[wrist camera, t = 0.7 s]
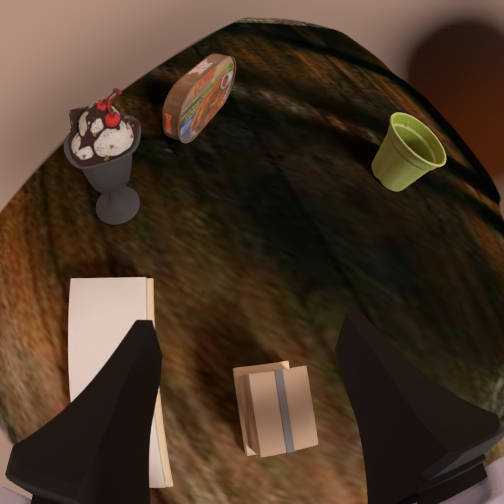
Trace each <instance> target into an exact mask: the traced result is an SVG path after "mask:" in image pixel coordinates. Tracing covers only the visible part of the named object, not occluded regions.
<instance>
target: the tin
mask: <svg viewBox="0 0 504 504" xmlns="http://www.w3.org/2000/svg"><path fill="white" fill-rule="evenodd" d="M235 73H236V61H235V59H234V58H233V57H232V56H225V55H221V54H211V55H209V56H208V57H206V58H205V59H204V60H202V61H201V62H200V63H198V64H197V65H196V66H195V67H193V68H192V69H191V70H190V71H188V72H187V73H186V74H185V75H183V76H182V77H181V78H180V79H179V80H178V81H177V82H176V83H175V84H174V85H173V87H172V88H171V90H170V91H169V93H168V95H167V98H166V100H165V103H164V107H163V129H164V133H165V134H166V135H167V136H168V137H170V138H173V139H176V140H179V141H181V142H182V143H189V142H191V141H192V140H193V139H195V137H196V136H197V135H198V134H199V133H200V131H201V130H202V129H203V128H204V127H205V126H206V124H207V123H208V122H209V121H210V120H211V119H212V117H213V116H214V115H215V114H216V113H217V112H218V111H219V110H220V108H221V107H222V106H223V105H224V103H225V101H226V99H227V98H228V96H229V94H230V91H231V88H232V85H233V82H234V78H235Z"/></svg>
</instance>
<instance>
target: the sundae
mask: <svg viewBox="0 0 504 504" xmlns="http://www.w3.org/2000/svg"><path fill="white" fill-rule="evenodd" d="M115 92H116V96H114V97H113V98H112V100H111V101H109V100H108V99H109V98H110V97H111V95H112V94H114V93H115ZM112 94H110V96H109V97H108V98H107V99H103V100H100V101H99V102H98V103H95V104H94V105H93V106H91V107H89V106H87V107H82V108H77V109H73V110H70V112H69V116H70V122H71V127H72V128H71V132H70V133H69V134H68V135H67V137H66V139H65V141H64V153H65V155H66V157H67V159H68V160H69V161H70V163H71V164H72V165H74V166H75V167H77V168H79V169H82V171H83V172H84V174H85V176H86V178H87V179H88V181H89V182H90V184H91V185H92V186H93V188H94V189H95V190H96V191H98V192H100V193H102V194H101V195H100V197H99V198H98V200H97V203H96V213H97V216H98V217H99V218H100V219H101V220H102V221H103V222H105V223H107V224H111V225H119V224H122V223H125V222H127V221H129V220H130V219H132V218H133V217H134V216H135V215H136V213H137V212H138V210H139V206H140V199H139V196H138V194H137V193H136V191H134V190H133V189H132V188H130V187H127V186H125V185H126V184H127V183H128V181H129V179H130V173H131V166H132V153H133V152H134V151H135V150H136V148H137V146H138V144H139V142H140V137H141V127H140V125H141V123H140V122H139V121H138V120H137V119H135V118H134V117H132V116H130V115H126V114H123V113H119V112H118V111H117V110H116V109H115V108H114V107H113V106H111V103H112V101H113V100H114V99H115V98H116V97H117V96H118V95H120V94H122V91H121V90H119V89H117V88H115V89H113V93H112Z"/></svg>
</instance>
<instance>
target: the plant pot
mask: <svg viewBox="0 0 504 504" xmlns="http://www.w3.org/2000/svg"><path fill="white" fill-rule="evenodd" d="M445 162H446V154H445V151H444V149H443V146H442V145H441V143H440V141H439V140H438V139H437V137H436V136H435V135H434V134H433V133H432V131H431V130H430V129H429V128H428V127H426V126H425V125H424V124H423V123H421V122H420V121H419V120H417V119H416V118H414V117H412V116H410V115H408V114H405V113H399V112H398V113H394V114H393V115H392V116H391V118H390V126H389V128H388V133H387V135H386V137H385V139H384V141H383V143H382V145H381V147H380V149H379V151H378V152H377V154H376V156H375V158H374V160H373V162H372V171H373V174H374V176H375V177H376V178H378V179H379V180H380V181H381V183H382V185H383V186H385V187H386V188H388V189H390V190H392V191H401V190H403V189H404V188H406V187H407V186H408V185H410V184H411V183H412V182H414V181H415V180H417V179H418V178H419V177H421V176H422V175H424V174H425V173H426V172H428V171H429V170H433V169H435V168H436V167H441V166H443V165H444V164H445Z"/></svg>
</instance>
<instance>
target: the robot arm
mask: <svg viewBox="0 0 504 504" xmlns="http://www.w3.org/2000/svg"><path fill="white" fill-rule="evenodd" d="M335 350H336V355H337V360H338V365H339V369H340V373H341V376H342V379H343V382H344V385H345V388H346V391H347V394H348V396H349V399H350V402H351V405H352V408H353V411H354V414H355V417H356V420H357V424H358V428H359V433H360V438H361V443H362V449H363V456H364V462H365V470H366V480H367V495H368V504H504V455H503V456H502V457H500V458H498V459H497V460H495V461H494V462H492V463H491V464H489V465H487V466H486V467H484V466H483V462H484V461H486V458H485V455H484V453H485V452H486V451H487V450H489V449H490V448H491V447H492V446H494V445H495V444H496V443H497V442H498V441H499V440H501V439H502V438H503V436H504V427H503V425H502V423H501V421H500V419H499V417H498V415H497V414H494V413H492V412H489V411H487V410H484V409H482V408H480V407H477V406H475V405H473V404H471V403H469V402H467V401H465V400H463V399H462V398H460V397H458V396H456V395H455V394H453V393H451V392H450V391H448V390H447V389H445V388H443V387H442V386H440V385H439V384H438V383H436V382H435V381H433V380H432V379H431V378H429V377H428V376H427V375H425V374H424V373H423V372H422V371H420V370H419V369H418V368H417V367H416V366H414V365H413V364H412V363H411V362H410V361H409V360H408V359H407V358H405V357H404V356H403V355H402V354H401V353H400V352H399V351H398V350H397V349H396V348H395V347H394V346H393V345H392V344H391V343H390V342H389V341H388V340H387V339H386V338H385V337H384V336H383V335H382V334H381V333H380V332H379V331H378V330H377V329H376V328H375V327H374V326H373V325H372V324H371V323H370V322H369V321H368V320H367V319H366V318H365V317H364V316H363V315H362V314H361V313H360V312H358V313H347V314H346V315H345V318H344V322H343V325H342V329H341V332H340V335H339V339H338V342H337V345H336V348H335ZM161 364H162V354H161V350H160V347H159V343H158V339H157V336H156V332H155V328H154V325H153V321H152V320H136V321H135V322H134V324H133V325H132V327H131V328H130V329H129V331H128V332H127V334H126V335H125V337H124V338H123V340H122V341H121V343H120V344H119V345H118V347H117V348H116V350H115V351H114V352H113V354H112V355H111V356H110V358H109V359H108V361H107V362H106V363H105V364H104V366H103V367H102V368H101V369H100V371H99V372H98V373H97V374H96V376H95V377H94V378H93V379H92V381H91V382H90V383H89V384H88V385H87V386H86V387H85V389H84V390H83V391H82V392H81V393H80V394H79V395H78V396H77V397H76V398H75V399H74V400H73V401H72V402H71V403H70V404H69V405H68V406H67V407H66V408H65V409H64V410H63V411H61V412H60V413H59V414H58V415H57V416H56V417H54V418H53V419H52V420H51V421H49V422H48V423H47V424H46V425H44V426H43V427H42V428H41V429H39V430H38V431H36V432H35V433H34V434H32V435H30V436H29V437H27V438H26V439H24V440H22V441H21V442H19V443H18V444H16V445H14V446H13V448H12V452H11V455H10V458H9V462H8V466H7V470H6V474H5V475H6V477H7V479H9V480H10V481H12V482H13V483H14V484H16V485H18V486H20V487H21V488H23V489H24V490H26V491H28V492H30V493H31V494H33V496H32V500H31V499H29V498H26V497H24V496H22V495H20V494H18V493H15V492H14V491H11V490H9V489H7V488H5V487H2V488H1V493H0V504H150V487H149V452H150V435H151V427H152V421H153V416H154V410H155V405H156V400H157V394H158V389H159V384H160V377H161Z"/></svg>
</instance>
